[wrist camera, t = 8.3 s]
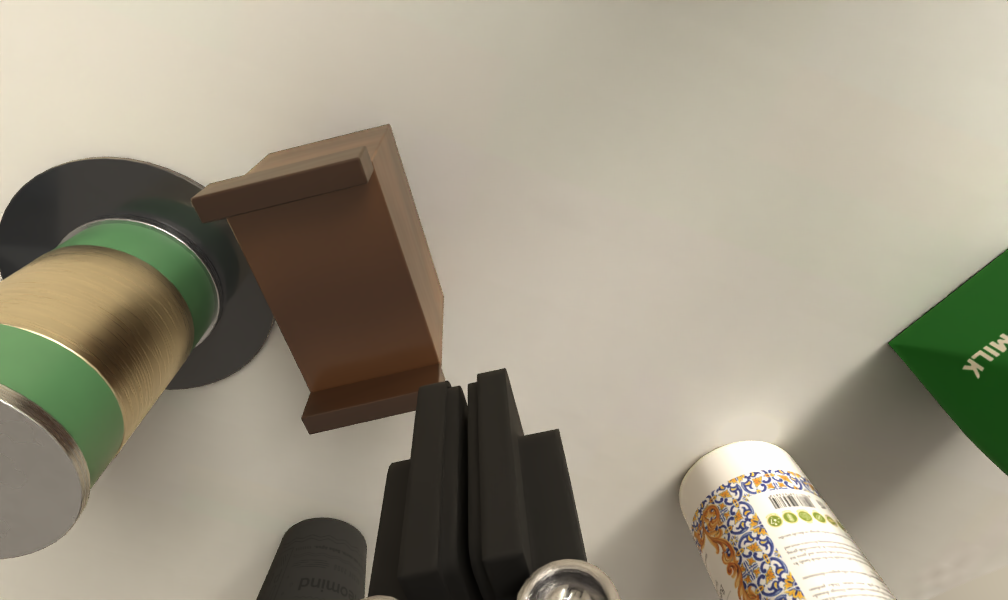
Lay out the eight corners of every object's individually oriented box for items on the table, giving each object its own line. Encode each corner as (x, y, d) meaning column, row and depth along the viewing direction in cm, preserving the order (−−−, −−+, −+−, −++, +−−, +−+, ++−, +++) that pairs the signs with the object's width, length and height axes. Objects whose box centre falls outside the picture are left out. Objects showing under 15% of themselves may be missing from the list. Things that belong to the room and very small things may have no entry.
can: (115, 200, 26) (-272, 384, 18) (255, 177, 19) (-291, 469, 11) (197, 318, 29) (-102, 521, 21) (345, 337, 22) (-26, 658, 14)
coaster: (-61, 193, 23) (-67, 196, 22) (207, 126, 22) (204, 128, 22) (95, 408, 28) (91, 411, 28) (314, 356, 27) (312, 360, 27)
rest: (262, 141, 23) (188, 199, 16) (385, 110, 22) (359, 157, 16) (343, 331, 27) (308, 435, 21) (447, 306, 27) (445, 404, 20)
